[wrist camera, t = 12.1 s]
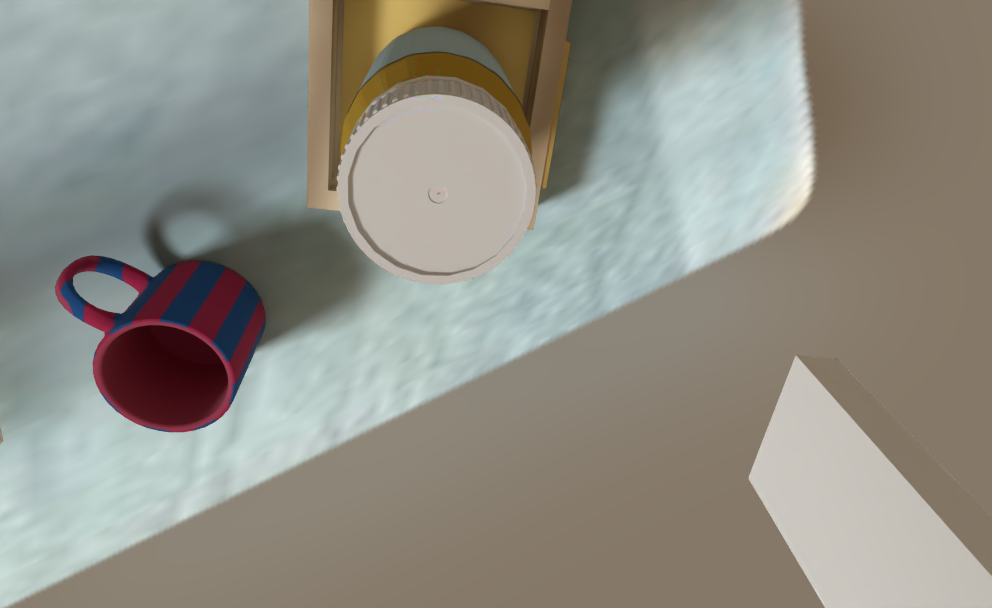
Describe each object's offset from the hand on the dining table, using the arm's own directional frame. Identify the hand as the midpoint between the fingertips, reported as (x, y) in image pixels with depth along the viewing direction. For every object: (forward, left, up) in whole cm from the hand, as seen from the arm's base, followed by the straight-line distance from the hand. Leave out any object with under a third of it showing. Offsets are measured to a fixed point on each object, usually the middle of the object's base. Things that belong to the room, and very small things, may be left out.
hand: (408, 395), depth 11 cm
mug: (-13, -13, -27) cm, 32 cm away
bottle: (+1, 0, -26) cm, 26 cm away
